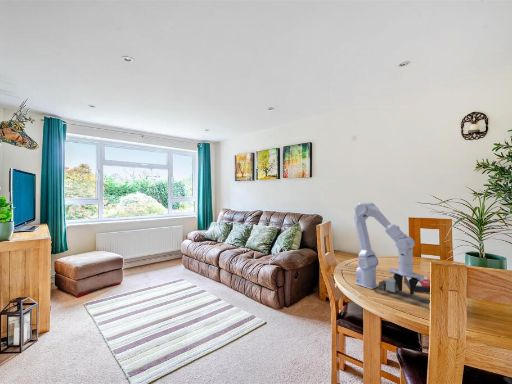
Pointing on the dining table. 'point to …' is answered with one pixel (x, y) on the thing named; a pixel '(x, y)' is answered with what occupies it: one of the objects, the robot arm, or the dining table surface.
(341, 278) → the dining table surface
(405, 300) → the cord board
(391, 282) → the grey block
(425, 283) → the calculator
